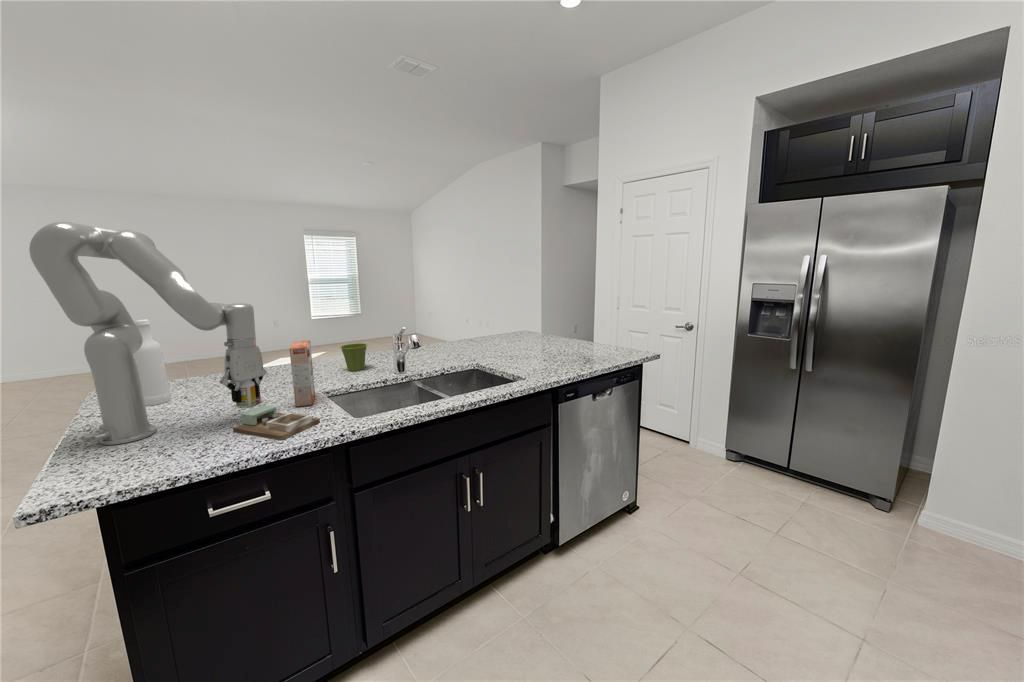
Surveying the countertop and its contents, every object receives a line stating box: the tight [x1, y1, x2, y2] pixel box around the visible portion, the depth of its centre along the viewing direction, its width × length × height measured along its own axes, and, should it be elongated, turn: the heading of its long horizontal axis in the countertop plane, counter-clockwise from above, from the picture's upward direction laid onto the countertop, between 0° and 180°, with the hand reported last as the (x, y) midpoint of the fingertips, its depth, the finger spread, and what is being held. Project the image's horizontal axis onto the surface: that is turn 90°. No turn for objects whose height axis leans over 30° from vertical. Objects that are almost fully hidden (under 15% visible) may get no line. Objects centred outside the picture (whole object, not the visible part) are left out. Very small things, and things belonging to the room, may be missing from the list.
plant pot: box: [339, 342, 368, 372], centre depth 195 cm, size 12×12×11 cm
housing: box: [240, 404, 278, 425], centre depth 130 cm, size 8×5×3 cm, turn 160°
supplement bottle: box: [235, 379, 257, 408], centre depth 135 cm, size 5×5×10 cm
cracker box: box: [289, 339, 316, 408], centre depth 151 cm, size 14×6×21 cm, turn 22°
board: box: [232, 412, 321, 441], centre depth 128 cm, size 14×19×3 cm
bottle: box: [133, 319, 171, 407], centre depth 151 cm, size 8×8×30 cm
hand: (246, 398), depth 135 cm, fingers closed on supplement bottle, 5 cm apart
